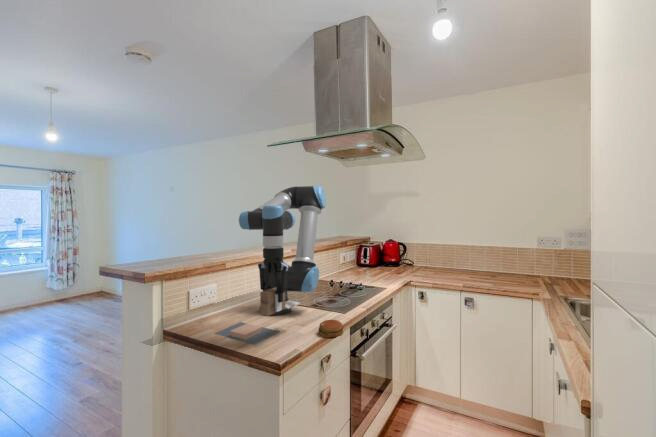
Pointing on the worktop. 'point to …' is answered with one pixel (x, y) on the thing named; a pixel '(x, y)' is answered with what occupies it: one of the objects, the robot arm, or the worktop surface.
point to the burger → (331, 328)
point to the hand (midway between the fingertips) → (274, 309)
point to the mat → (253, 340)
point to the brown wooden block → (272, 302)
